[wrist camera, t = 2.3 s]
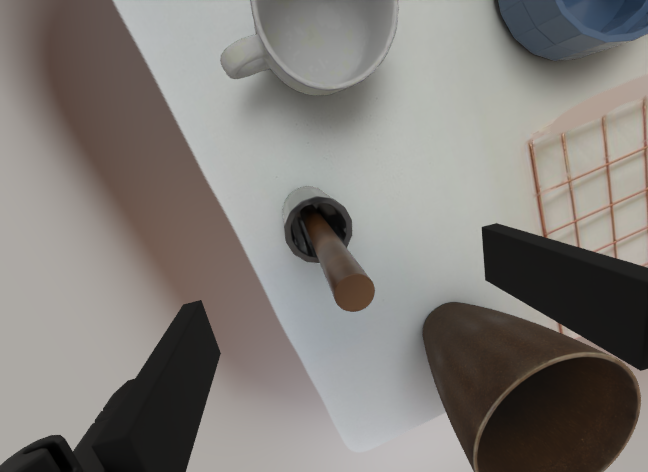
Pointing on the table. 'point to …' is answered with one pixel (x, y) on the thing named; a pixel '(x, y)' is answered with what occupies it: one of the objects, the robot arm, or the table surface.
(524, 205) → the table surface
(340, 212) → the stick holder
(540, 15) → the bowl
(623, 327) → the robot arm
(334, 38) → the teacup
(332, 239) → the stir stick
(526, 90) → the table surface
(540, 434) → the flower pot
